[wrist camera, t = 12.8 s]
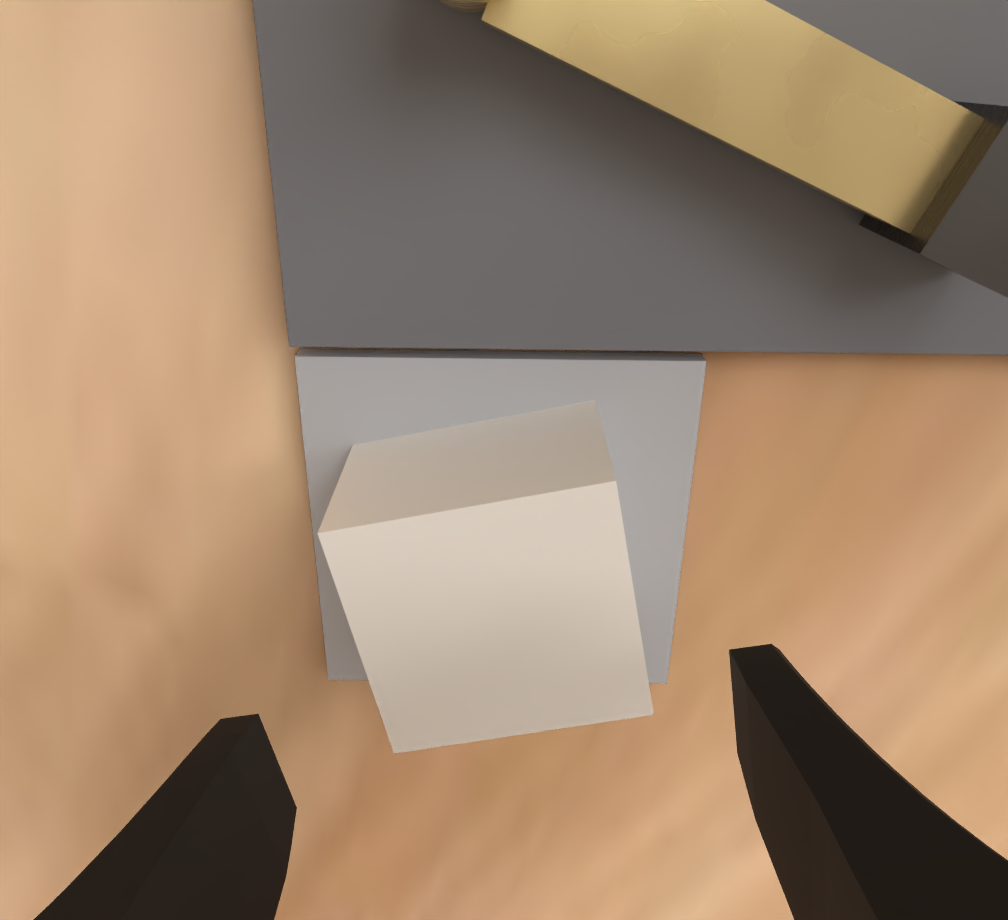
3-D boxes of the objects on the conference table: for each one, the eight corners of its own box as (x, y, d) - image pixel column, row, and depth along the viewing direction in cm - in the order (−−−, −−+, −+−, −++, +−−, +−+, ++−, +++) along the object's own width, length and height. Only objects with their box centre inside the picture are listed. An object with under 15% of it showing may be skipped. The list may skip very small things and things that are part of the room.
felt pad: (700, 352, 17) (706, 361, 16) (663, 669, 20) (666, 683, 20) (299, 348, 17) (294, 356, 16) (332, 666, 20) (327, 680, 20)
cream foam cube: (595, 400, 16) (616, 481, 13) (629, 603, 19) (653, 714, 15) (352, 444, 17) (317, 533, 14) (412, 638, 19) (393, 753, 16)
